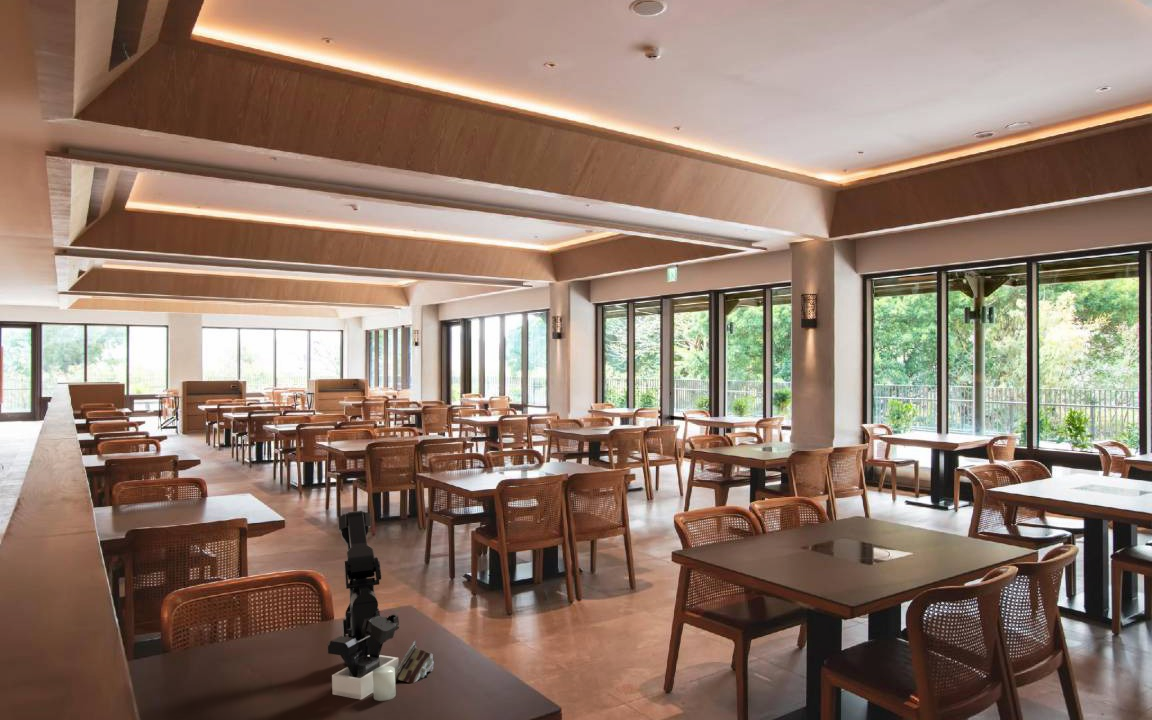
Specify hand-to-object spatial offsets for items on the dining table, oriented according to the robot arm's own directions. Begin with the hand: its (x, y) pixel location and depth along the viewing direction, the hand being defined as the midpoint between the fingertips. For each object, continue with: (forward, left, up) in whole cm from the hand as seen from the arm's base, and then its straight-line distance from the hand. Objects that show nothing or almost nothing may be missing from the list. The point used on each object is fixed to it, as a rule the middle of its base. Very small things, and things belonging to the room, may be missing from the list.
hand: (364, 671), depth 180 cm
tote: (0, 0, -4) cm, 4 cm away
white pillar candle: (+8, -3, -4) cm, 10 cm away
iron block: (0, 0, -2) cm, 3 cm away
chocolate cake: (+8, +9, -4) cm, 13 cm away
